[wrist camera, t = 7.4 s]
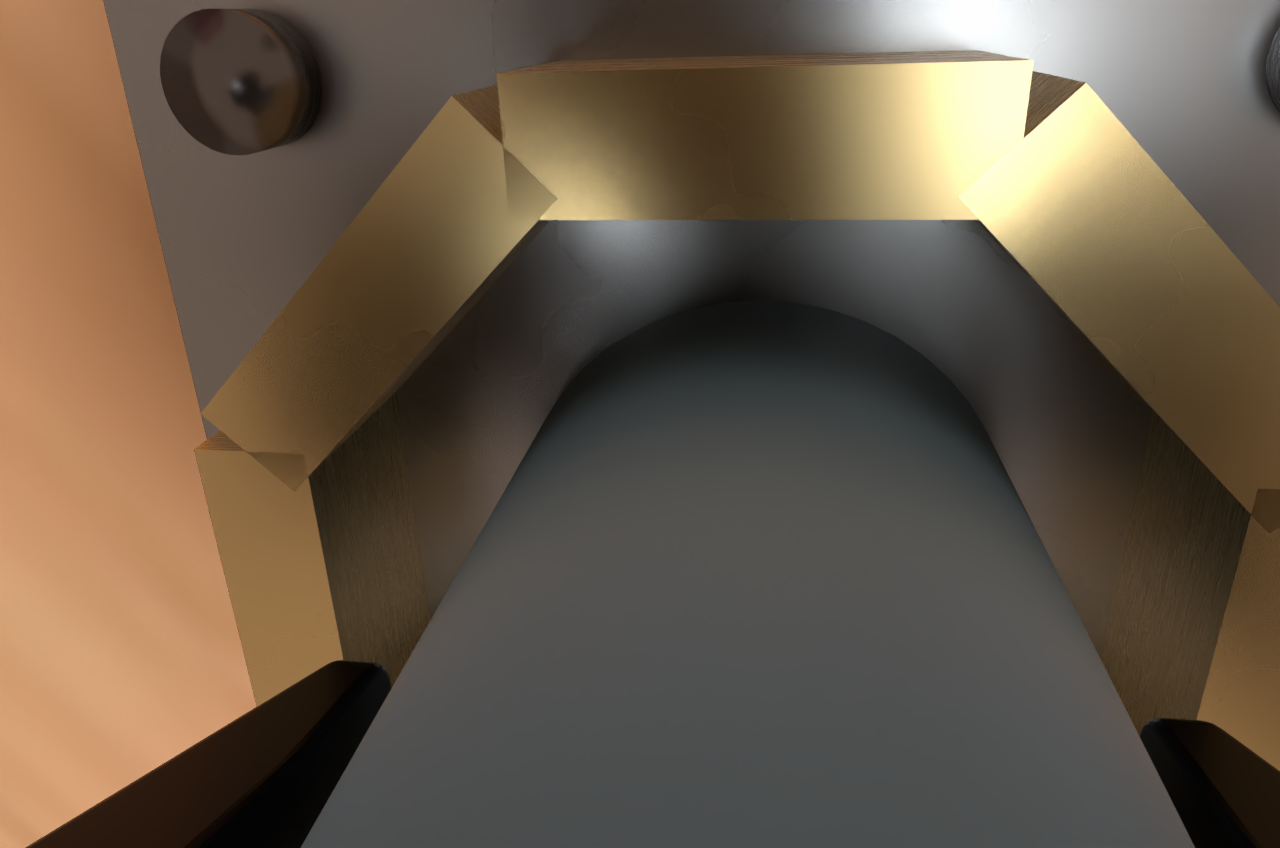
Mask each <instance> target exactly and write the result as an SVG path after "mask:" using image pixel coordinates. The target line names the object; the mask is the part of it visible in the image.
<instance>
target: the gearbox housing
mask: <svg viewBox="0 0 1280 848" xmlns="http://www.w3.org/2000/svg"><path fill="white" fill-rule="evenodd" d="M103 1H104V5H105V9H106V13H107V18H108V22H109V26H110V30H111V35H112V39H113V43H114V47H115V51H116V56H117V60H118V64H119V68H120V73H121V77H122V81H123V85H124V90H125V94H126V98H127V102H128V106H129V111H130V115H131V119H132V123H133V128H134V132H135V136H136V140H137V145H138V149H139V153H140V157H141V161H142V166H143V170H144V174H145V178H146V183H147V187H148V191H149V195H150V200H151V204H152V208H153V212H154V217H155V221H156V225H157V229H158V233H159V238H160V242H161V246H162V250H163V255H164V259H165V263H166V267H167V272H168V276H169V280H170V284H171V288H172V293H173V297H174V301H175V305H176V310H177V314H178V318H179V322H180V327H181V331H182V335H183V339H184V343H185V348H186V352H187V356H188V360H189V365H190V369H191V373H192V377H193V382H194V386H195V390H196V394H197V398H198V403H199V407H200V411H201V415H202V420H203V424H204V428H205V432H206V437H207V440H206V441H205V442H204V443H202V444H201V445H200V446H198V447H197V448H195V449H194V451H195V455H196V459H197V463H198V468H199V472H200V476H201V480H202V484H203V488H204V492H205V496H206V500H207V505H208V509H209V513H210V517H211V521H212V525H213V529H214V533H215V537H216V541H217V546H218V550H219V554H220V558H221V562H222V566H223V570H224V574H225V578H226V582H227V587H228V591H229V595H230V599H231V603H232V607H233V611H234V615H235V619H236V624H237V628H238V632H239V636H240V640H241V644H242V648H243V652H244V656H245V660H246V665H247V669H248V673H249V677H250V681H251V685H252V689H253V693H254V697H255V702H256V706H259V705H261V704H262V703H264V702H266V701H267V700H269V699H271V698H272V697H274V696H275V695H277V694H279V693H280V692H282V691H284V690H285V689H287V688H289V687H290V686H292V685H294V684H295V683H297V682H298V681H300V680H302V679H303V678H305V677H307V676H308V675H310V674H312V673H313V672H315V671H317V670H318V669H320V668H321V667H323V666H325V665H327V664H329V663H331V662H333V661H337V660H348V661H362V662H376V663H379V664H381V665H383V666H384V667H385V668H386V670H387V671H388V673H389V676H390V680H391V685H392V687H393V685H394V683H395V682H396V680H397V678H398V676H399V675H400V673H401V671H402V669H403V668H404V666H405V664H406V662H407V661H408V659H409V657H410V655H411V654H412V652H413V650H414V648H415V647H416V645H417V643H418V641H419V640H420V638H421V636H422V634H423V633H424V631H425V629H426V627H427V626H428V624H429V622H430V620H431V619H432V617H433V615H434V613H435V612H436V610H437V608H438V606H439V605H440V603H441V601H442V599H443V598H444V596H445V594H446V592H447V591H448V589H449V587H450V585H451V584H452V582H453V580H454V578H455V577H456V575H457V573H458V571H459V570H460V568H461V566H462V564H463V563H464V561H465V559H466V557H467V556H468V554H469V552H470V550H471V549H472V547H473V545H474V543H475V542H476V540H477V538H478V536H479V535H480V533H481V531H482V529H483V528H484V526H485V524H486V522H487V521H488V519H489V517H490V515H491V514H492V512H493V510H494V508H495V507H496V505H497V503H498V501H499V500H500V498H501V496H502V494H503V493H504V491H505V489H506V487H507V486H508V484H509V482H510V480H511V479H512V477H513V475H514V473H515V472H516V470H517V468H518V466H519V465H520V463H521V461H522V459H523V458H524V456H525V454H526V452H527V451H528V449H529V447H530V445H531V444H532V442H533V440H534V438H535V437H536V435H537V433H538V431H539V430H540V428H541V426H542V424H543V423H544V421H545V419H546V417H547V416H548V414H549V412H550V411H551V409H552V408H553V406H554V405H555V403H556V402H557V400H558V399H559V397H560V395H561V394H562V392H563V391H564V390H565V389H566V388H567V386H568V385H569V384H570V383H571V382H572V381H573V380H574V378H575V377H576V376H577V375H578V374H579V373H580V372H581V370H582V369H583V368H585V367H586V366H587V365H588V364H589V363H590V362H592V361H593V360H594V359H595V358H596V357H597V356H599V355H600V354H601V353H602V352H603V351H604V350H605V349H607V348H608V347H610V346H612V345H613V344H615V343H616V342H618V341H619V340H621V339H622V338H624V337H626V336H627V335H629V334H630V333H632V332H634V331H636V330H638V329H640V328H642V327H644V326H646V325H649V324H651V323H653V322H655V321H657V320H659V319H661V318H664V317H667V316H671V315H674V314H677V313H680V312H683V311H686V310H690V309H693V308H697V307H703V306H708V305H714V304H720V303H725V302H739V301H758V300H765V301H779V302H792V303H800V304H805V305H810V306H815V307H820V308H825V309H830V310H833V311H836V312H839V313H842V314H845V315H848V316H851V317H854V318H857V319H860V320H863V321H865V322H867V323H869V324H871V325H873V326H875V327H877V328H879V329H882V330H884V331H886V332H888V333H890V334H892V335H894V336H896V337H897V338H899V339H900V340H902V341H903V342H905V343H906V344H908V345H909V346H911V347H912V348H913V349H915V350H916V351H918V352H919V353H921V354H922V355H924V356H925V357H926V358H927V359H928V360H929V361H931V362H932V363H933V364H934V365H935V366H936V367H937V368H938V369H939V370H941V371H942V372H943V373H944V374H945V375H946V376H947V377H948V378H949V379H950V380H951V381H952V382H953V384H954V385H955V386H956V387H957V388H958V390H959V391H960V392H961V393H962V394H963V395H964V397H965V398H966V399H967V400H968V401H969V403H970V404H971V406H972V408H973V409H974V411H975V413H976V414H977V416H978V417H979V419H980V421H981V422H982V424H983V426H984V427H985V429H986V431H987V433H988V435H989V437H990V439H991V441H992V443H993V445H994V447H995V449H996V451H997V453H998V455H999V457H1000V459H1001V461H1002V463H1003V465H1004V467H1005V469H1006V471H1007V473H1008V475H1009V477H1010V479H1011V481H1012V483H1013V485H1014V487H1015V489H1016V491H1017V493H1018V495H1019V497H1020V499H1021V501H1022V503H1023V505H1024V507H1025V509H1026V511H1027V513H1028V515H1029V517H1030V519H1031V521H1032V523H1033V525H1034V527H1035V529H1036V531H1037V533H1038V535H1039V537H1040V539H1041V541H1042V543H1043V545H1044V547H1045V549H1046V551H1047V553H1048V555H1049V557H1050V559H1051V561H1052V563H1053V565H1054V567H1055V569H1056V571H1057V573H1058V575H1059V577H1060V579H1061V581H1062V583H1063V585H1064V587H1065V589H1066V591H1067V593H1068V595H1069V597H1070V599H1071V601H1072V603H1073V605H1074V607H1075V609H1076V611H1077V613H1078V615H1079V617H1080V619H1081V621H1082V623H1083V625H1084V627H1085V629H1086V631H1087V633H1088V635H1089V637H1090V639H1091V641H1092V643H1093V645H1094V647H1095V649H1096V651H1097V653H1098V655H1099V657H1100V659H1101V661H1102V663H1103V665H1104V667H1105V669H1106V671H1107V673H1108V675H1109V677H1110V679H1111V681H1112V683H1113V685H1114V687H1115V689H1116V691H1117V693H1118V695H1119V697H1120V699H1121V701H1122V703H1123V705H1124V707H1125V709H1126V711H1127V713H1128V715H1129V717H1130V719H1131V721H1132V723H1133V725H1134V727H1135V729H1136V731H1137V733H1138V735H1140V732H1141V730H1142V728H1143V726H1144V725H1145V723H1146V722H1147V721H1149V720H1151V719H1153V718H1173V719H1187V720H1201V721H1207V722H1210V723H1213V724H1215V725H1216V726H1218V727H1220V728H1221V729H1223V730H1224V731H1226V732H1227V733H1228V734H1230V735H1231V736H1232V737H1234V738H1235V739H1237V740H1238V741H1239V742H1241V743H1242V744H1243V745H1245V746H1246V747H1248V748H1249V749H1250V750H1252V751H1253V752H1254V753H1256V754H1257V755H1259V756H1260V757H1261V758H1263V759H1264V760H1265V761H1267V762H1268V763H1270V764H1271V765H1272V766H1274V767H1275V768H1276V769H1278V770H1279V771H1280V0H103Z"/></svg>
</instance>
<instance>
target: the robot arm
mask: <svg viewBox="0 0 1280 848" xmlns="http://www.w3.org/2000/svg"><path fill="white" fill-rule="evenodd" d="M391 689H392V685H391V680H390V676H389V673H388V671H387V670H386V668H385V667H384V666H383V665H381V664H379V663H376V662H362V661H348V660H337V661H333V662H331V663H329V664H327V665H325V666H323V667H321V668H320V669H318V670H317V671H315V672H313V673H312V674H310V675H308V676H307V677H305V678H303V679H302V680H300V681H298V682H297V683H295V684H294V685H292V686H290V687H289V688H287V689H285V690H284V691H282V692H280V693H279V694H277V695H275V696H274V697H272V698H271V699H269V700H267V701H266V702H264V703H262V704H261V705H259V706H257V707H256V708H254V709H253V710H251V711H249V712H248V713H246V714H244V715H243V716H241V717H239V718H238V719H236V720H234V721H233V722H231V723H230V724H228V725H226V726H225V727H223V728H221V729H220V730H218V731H216V732H215V733H213V734H211V735H210V736H208V737H207V738H205V739H203V740H202V741H200V742H198V743H197V744H195V745H193V746H192V747H190V748H188V749H187V750H185V751H184V752H182V753H180V754H179V755H177V756H175V757H174V758H172V759H170V760H169V761H167V762H165V763H164V764H162V765H161V766H159V767H157V768H156V769H154V770H152V771H151V772H149V773H147V774H146V775H144V776H142V777H141V778H139V779H138V780H136V781H134V782H133V783H131V784H129V785H128V786H126V787H124V788H123V789H121V790H119V791H118V792H116V793H115V794H113V795H111V796H110V797H108V798H106V799H105V800H103V801H101V802H100V803H98V804H96V805H95V806H93V807H92V808H90V809H88V810H87V811H85V812H83V813H82V814H80V815H78V816H77V817H75V818H74V819H72V820H70V821H69V822H67V823H65V824H64V825H62V826H60V827H59V828H57V829H55V830H54V831H52V832H50V833H49V834H47V835H46V836H44V837H42V838H41V839H39V840H37V841H36V842H34V843H32V844H31V845H29V846H27V847H26V848H301V846H302V844H303V843H304V841H305V839H306V837H307V836H308V834H309V832H310V830H311V829H312V827H313V825H314V823H315V822H316V820H317V818H318V816H319V815H320V813H321V811H322V809H323V808H324V806H325V804H326V802H327V801H328V799H329V797H330V795H331V794H332V792H333V790H334V788H335V787H336V785H337V783H338V781H339V780H340V778H341V776H342V774H343V773H344V771H345V769H346V767H347V766H348V764H349V762H350V760H351V759H352V757H353V755H354V753H355V752H356V750H357V748H358V746H359V745H360V743H361V741H362V739H363V738H364V736H365V734H366V732H367V731H368V729H369V727H370V725H371V724H372V722H373V720H374V718H375V717H376V715H377V713H378V711H379V710H380V708H381V706H382V704H383V703H384V701H385V699H386V697H387V696H388V694H389V692H390V690H391ZM1139 737H1140V739H1141V741H1142V743H1143V745H1144V747H1145V749H1146V751H1147V753H1148V755H1149V756H1150V758H1151V760H1152V762H1153V764H1154V766H1155V768H1156V770H1157V772H1158V774H1159V776H1160V778H1161V780H1162V782H1163V784H1164V786H1165V788H1166V790H1167V792H1168V794H1169V796H1170V798H1171V800H1172V802H1173V804H1174V806H1175V808H1176V810H1177V812H1178V814H1179V816H1180V818H1181V820H1182V822H1183V824H1184V826H1185V828H1186V830H1187V832H1188V834H1189V836H1190V838H1191V840H1192V842H1193V844H1194V846H1195V848H1280V771H1279V770H1278V769H1276V768H1275V767H1274V766H1272V765H1271V764H1270V763H1268V762H1267V761H1265V760H1264V759H1263V758H1261V757H1260V756H1259V755H1257V754H1256V753H1254V752H1253V751H1252V750H1250V749H1249V748H1248V747H1246V746H1245V745H1243V744H1242V743H1241V742H1239V741H1238V740H1237V739H1235V738H1234V737H1232V736H1231V735H1230V734H1228V733H1227V732H1226V731H1224V730H1223V729H1221V728H1220V727H1218V726H1216V725H1215V724H1213V723H1210V722H1207V721H1201V720H1187V719H1173V718H1153V719H1151V720H1149V721H1147V722H1146V723H1145V725H1144V726H1143V728H1142V730H1141V732H1140V735H1139Z"/></svg>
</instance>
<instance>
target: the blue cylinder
mask: <svg viewBox="0 0 1280 848" xmlns="http://www.w3.org/2000/svg"><path fill="white" fill-rule="evenodd" d="M301 848H1195V846H1194V844H1193V842H1192V840H1191V838H1190V836H1189V834H1188V832H1187V830H1186V828H1185V826H1184V824H1183V822H1182V820H1181V818H1180V816H1179V814H1178V812H1177V810H1176V808H1175V806H1174V804H1173V802H1172V800H1171V798H1170V796H1169V794H1168V792H1167V790H1166V788H1165V786H1164V784H1163V782H1162V780H1161V778H1160V776H1159V774H1158V772H1157V770H1156V768H1155V766H1154V764H1153V762H1152V760H1151V758H1150V756H1149V755H1148V753H1147V751H1146V749H1145V747H1144V745H1143V743H1142V741H1141V739H1140V737H1139V735H1138V733H1137V731H1136V729H1135V727H1134V725H1133V723H1132V721H1131V719H1130V717H1129V715H1128V713H1127V711H1126V709H1125V707H1124V705H1123V703H1122V701H1121V699H1120V697H1119V695H1118V693H1117V691H1116V689H1115V687H1114V685H1113V683H1112V681H1111V679H1110V677H1109V675H1108V673H1107V671H1106V669H1105V667H1104V665H1103V663H1102V661H1101V659H1100V657H1099V655H1098V653H1097V651H1096V649H1095V647H1094V645H1093V643H1092V641H1091V639H1090V637H1089V635H1088V633H1087V631H1086V629H1085V627H1084V625H1083V623H1082V621H1081V619H1080V617H1079V615H1078V613H1077V611H1076V609H1075V607H1074V605H1073V603H1072V601H1071V599H1070V597H1069V595H1068V593H1067V591H1066V589H1065V587H1064V585H1063V583H1062V581H1061V579H1060V577H1059V575H1058V573H1057V571H1056V569H1055V567H1054V565H1053V563H1052V561H1051V559H1050V557H1049V555H1048V553H1047V551H1046V549H1045V547H1044V545H1043V543H1042V541H1041V539H1040V537H1039V535H1038V533H1037V531H1036V529H1035V527H1034V525H1033V523H1032V521H1031V519H1030V517H1029V515H1028V513H1027V511H1026V509H1025V507H1024V505H1023V503H1022V501H1021V499H1020V497H1019V495H1018V493H1017V491H1016V489H1015V487H1014V485H1013V483H1012V481H1011V479H1010V477H1009V475H1008V473H1007V471H1006V469H1005V467H1004V465H1003V463H1002V461H1001V459H1000V457H999V455H998V453H997V451H996V449H995V447H994V445H993V443H992V441H991V439H990V437H989V435H988V433H987V431H986V429H985V427H984V426H983V424H982V422H981V421H980V419H979V417H978V416H977V414H976V413H975V411H974V409H973V408H972V406H971V404H970V403H969V401H968V400H967V399H966V398H965V397H964V395H963V394H962V393H961V392H960V391H959V390H958V388H957V387H956V386H955V385H954V384H953V382H952V381H951V380H950V379H949V378H948V377H947V376H946V375H945V374H944V373H943V372H942V371H941V370H939V369H938V368H937V367H936V366H935V365H934V364H933V363H932V362H931V361H929V360H928V359H927V358H926V357H925V356H924V355H922V354H921V353H919V352H918V351H916V350H915V349H913V348H912V347H911V346H909V345H908V344H906V343H905V342H903V341H902V340H900V339H899V338H897V337H896V336H894V335H892V334H890V333H888V332H886V331H884V330H882V329H879V328H877V327H875V326H873V325H871V324H869V323H867V322H865V321H863V320H860V319H857V318H854V317H851V316H848V315H845V314H842V313H839V312H836V311H833V310H830V309H825V308H820V307H815V306H810V305H805V304H800V303H792V302H779V301H765V300H758V301H739V302H725V303H720V304H714V305H708V306H703V307H697V308H693V309H690V310H686V311H683V312H680V313H677V314H674V315H671V316H667V317H664V318H661V319H659V320H657V321H655V322H653V323H651V324H649V325H646V326H644V327H642V328H640V329H638V330H636V331H634V332H632V333H630V334H629V335H627V336H626V337H624V338H622V339H621V340H619V341H618V342H616V343H615V344H613V345H612V346H610V347H608V348H607V349H605V350H604V351H603V352H602V353H601V354H600V355H599V356H597V357H596V358H595V359H594V360H593V361H592V362H590V363H589V364H588V365H587V366H586V367H585V368H583V369H582V370H581V372H580V373H579V374H578V375H577V376H576V377H575V378H574V380H573V381H572V382H571V383H570V384H569V385H568V386H567V388H566V389H565V390H564V391H563V392H562V394H561V395H560V397H559V399H558V400H557V402H556V403H555V405H554V406H553V408H552V409H551V411H550V412H549V414H548V416H547V417H546V419H545V421H544V423H543V424H542V426H541V428H540V430H539V431H538V433H537V435H536V437H535V438H534V440H533V442H532V444H531V445H530V447H529V449H528V451H527V452H526V454H525V456H524V458H523V459H522V461H521V463H520V465H519V466H518V468H517V470H516V472H515V473H514V475H513V477H512V479H511V480H510V482H509V484H508V486H507V487H506V489H505V491H504V493H503V494H502V496H501V498H500V500H499V501H498V503H497V505H496V507H495V508H494V510H493V512H492V514H491V515H490V517H489V519H488V521H487V522H486V524H485V526H484V528H483V529H482V531H481V533H480V535H479V536H478V538H477V540H476V542H475V543H474V545H473V547H472V549H471V550H470V552H469V554H468V556H467V557H466V559H465V561H464V563H463V564H462V566H461V568H460V570H459V571H458V573H457V575H456V577H455V578H454V580H453V582H452V584H451V585H450V587H449V589H448V591H447V592H446V594H445V596H444V598H443V599H442V601H441V603H440V605H439V606H438V608H437V610H436V612H435V613H434V615H433V617H432V619H431V620H430V622H429V624H428V626H427V627H426V629H425V631H424V633H423V634H422V636H421V638H420V640H419V641H418V643H417V645H416V647H415V648H414V650H413V652H412V654H411V655H410V657H409V659H408V661H407V662H406V664H405V666H404V668H403V669H402V671H401V673H400V675H399V676H398V678H397V680H396V682H395V683H394V685H393V687H392V689H391V690H390V692H389V694H388V696H387V697H386V699H385V701H384V703H383V704H382V706H381V708H380V710H379V711H378V713H377V715H376V717H375V718H374V720H373V722H372V724H371V725H370V727H369V729H368V731H367V732H366V734H365V736H364V738H363V739H362V741H361V743H360V745H359V746H358V748H357V750H356V752H355V753H354V755H353V757H352V759H351V760H350V762H349V764H348V766H347V767H346V769H345V771H344V773H343V774H342V776H341V778H340V780H339V781H338V783H337V785H336V787H335V788H334V790H333V792H332V794H331V795H330V797H329V799H328V801H327V802H326V804H325V806H324V808H323V809H322V811H321V813H320V815H319V816H318V818H317V820H316V822H315V823H314V825H313V827H312V829H311V830H310V832H309V834H308V836H307V837H306V839H305V841H304V843H303V844H302V846H301Z"/></svg>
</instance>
